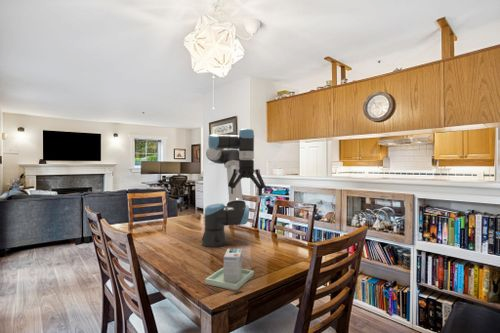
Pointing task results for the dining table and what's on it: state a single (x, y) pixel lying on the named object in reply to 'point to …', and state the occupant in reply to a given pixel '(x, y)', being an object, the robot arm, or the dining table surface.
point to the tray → (217, 281)
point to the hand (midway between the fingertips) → (246, 201)
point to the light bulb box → (232, 265)
